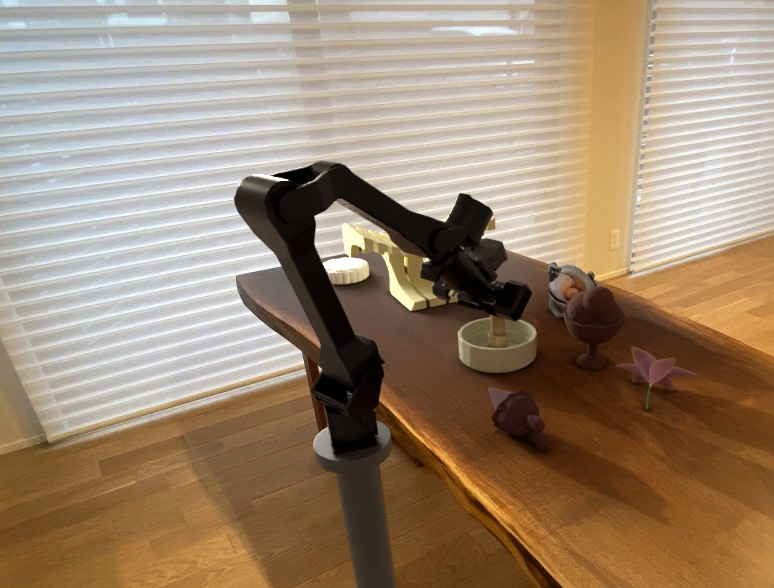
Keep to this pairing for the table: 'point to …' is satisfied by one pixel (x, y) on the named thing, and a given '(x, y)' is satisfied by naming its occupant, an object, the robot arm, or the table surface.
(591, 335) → the ice cream bowl
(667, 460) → the table surface
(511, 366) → the bowl
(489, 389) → the icecream
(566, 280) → the grey pot with food
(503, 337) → the cylinder
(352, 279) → the mooncake
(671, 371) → the lily
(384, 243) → the slatted curved stool
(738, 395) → the table surface
